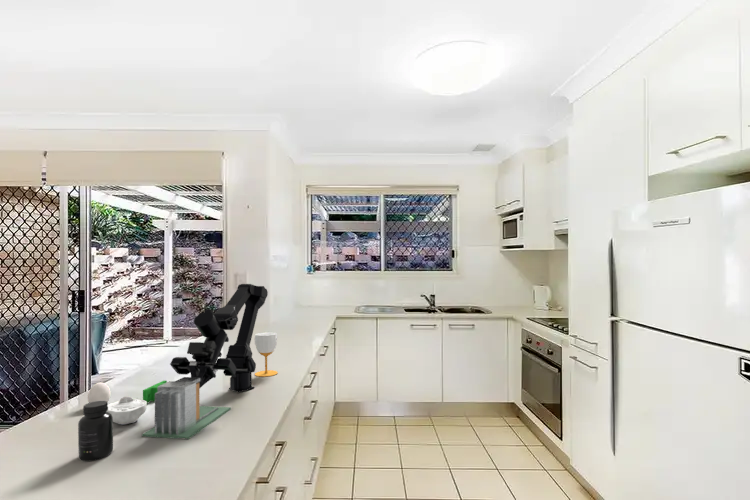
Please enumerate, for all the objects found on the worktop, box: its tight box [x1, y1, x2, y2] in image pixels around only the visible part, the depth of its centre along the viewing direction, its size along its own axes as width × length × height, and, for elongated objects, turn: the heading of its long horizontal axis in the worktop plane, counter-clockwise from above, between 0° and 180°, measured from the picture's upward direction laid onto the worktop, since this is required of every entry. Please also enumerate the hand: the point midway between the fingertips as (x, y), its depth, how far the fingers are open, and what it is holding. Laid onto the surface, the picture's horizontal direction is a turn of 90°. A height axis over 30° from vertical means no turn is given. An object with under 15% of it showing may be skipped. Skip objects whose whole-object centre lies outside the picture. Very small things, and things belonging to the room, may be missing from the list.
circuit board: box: [141, 405, 232, 440], centre depth 120 cm, size 22×13×1 cm, turn 171°
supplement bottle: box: [77, 401, 114, 462], centre depth 99 cm, size 7×7×12 cm
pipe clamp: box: [142, 380, 168, 404], centre depth 141 cm, size 11×4×5 cm, turn 174°
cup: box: [254, 331, 278, 378], centre depth 171 cm, size 9×9×16 cm
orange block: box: [196, 383, 200, 420], centre depth 119 cm, size 2×5×10 cm, turn 81°
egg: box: [87, 382, 112, 403], centre depth 133 cm, size 6×6×8 cm
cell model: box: [107, 395, 148, 426], centre depth 120 cm, size 10×12×7 cm
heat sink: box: [154, 376, 219, 435], centre depth 119 cm, size 20×8×12 cm, turn 171°
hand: (192, 392), depth 121 cm, fingers closed
